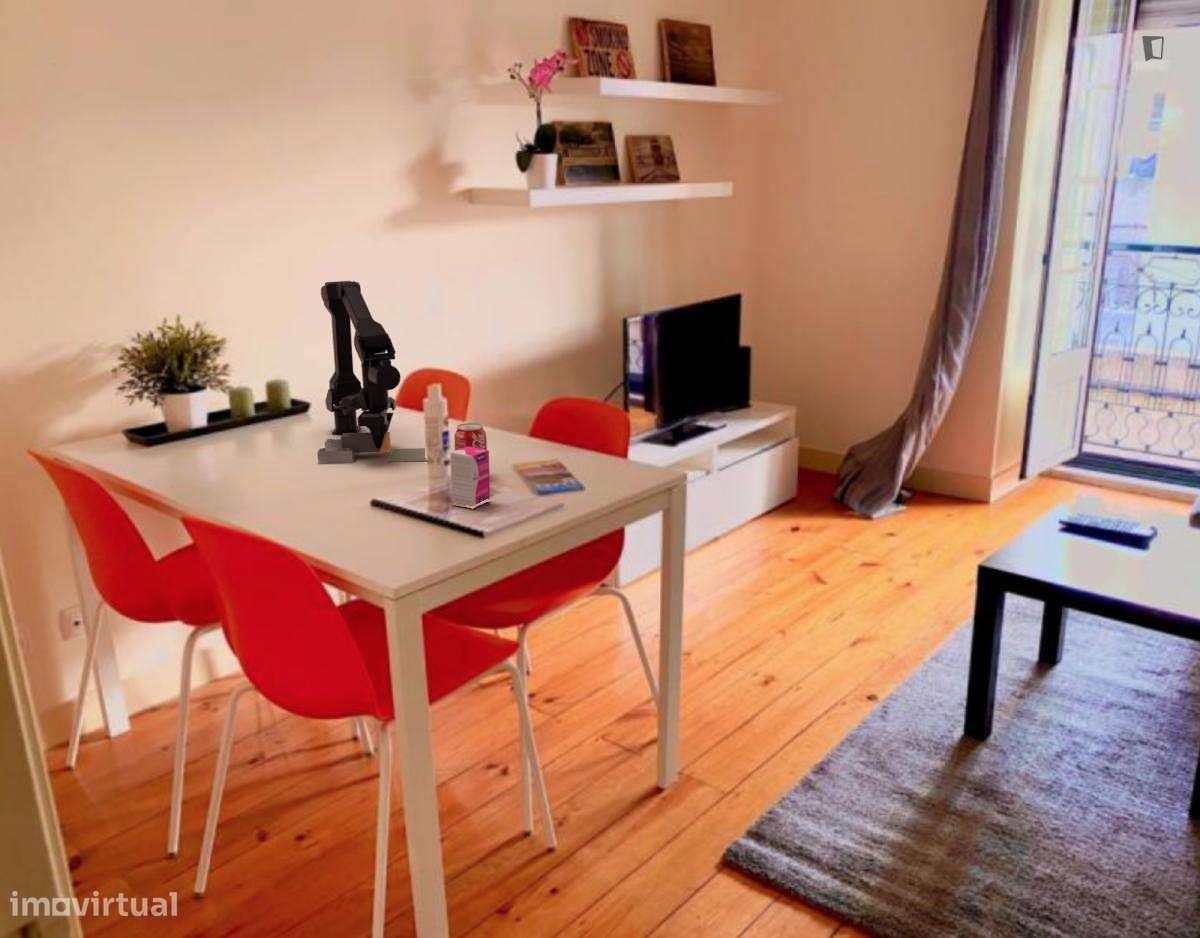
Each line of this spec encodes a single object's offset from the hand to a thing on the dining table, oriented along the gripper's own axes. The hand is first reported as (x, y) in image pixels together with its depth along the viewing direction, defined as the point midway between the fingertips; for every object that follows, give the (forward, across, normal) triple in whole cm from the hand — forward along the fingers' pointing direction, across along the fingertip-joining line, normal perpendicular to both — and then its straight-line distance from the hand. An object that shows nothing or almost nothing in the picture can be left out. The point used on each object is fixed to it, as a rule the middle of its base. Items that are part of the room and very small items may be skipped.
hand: (380, 446), depth 232 cm
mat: (+2, 0, +8) cm, 8 cm away
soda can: (+3, +19, +23) cm, 30 cm away
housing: (+2, 0, -10) cm, 10 cm away
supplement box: (+3, +37, +24) cm, 45 cm away
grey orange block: (+1, 0, -3) cm, 3 cm away
